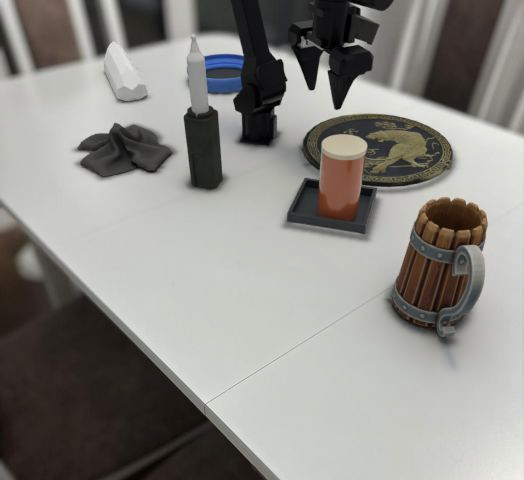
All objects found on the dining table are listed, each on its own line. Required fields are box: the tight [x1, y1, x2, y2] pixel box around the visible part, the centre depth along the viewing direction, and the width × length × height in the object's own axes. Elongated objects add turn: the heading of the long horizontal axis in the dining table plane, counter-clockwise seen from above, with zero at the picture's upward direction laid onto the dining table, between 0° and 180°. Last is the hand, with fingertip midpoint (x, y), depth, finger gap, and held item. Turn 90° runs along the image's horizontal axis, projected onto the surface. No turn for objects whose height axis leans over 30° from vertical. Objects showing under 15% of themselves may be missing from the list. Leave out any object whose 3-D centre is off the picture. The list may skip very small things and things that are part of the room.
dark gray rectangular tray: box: [286, 177, 378, 234], centre depth 92 cm, size 13×12×2 cm
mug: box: [391, 196, 489, 338], centre depth 69 cm, size 16×11×15 cm
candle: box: [183, 33, 224, 190], centre depth 91 cm, size 5×5×25 cm
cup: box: [317, 134, 367, 221], centre depth 87 cm, size 7×7×12 cm
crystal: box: [103, 41, 149, 102], centre depth 131 cm, size 7×7×24 cm
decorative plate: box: [302, 112, 454, 188], centre depth 107 cm, size 30×2×30 cm
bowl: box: [186, 53, 244, 93], centre depth 133 cm, size 18×18×4 cm
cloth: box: [77, 122, 173, 177], centre depth 107 cm, size 22×19×6 cm
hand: (324, 99), depth 94 cm, fingers open, 9 cm apart
